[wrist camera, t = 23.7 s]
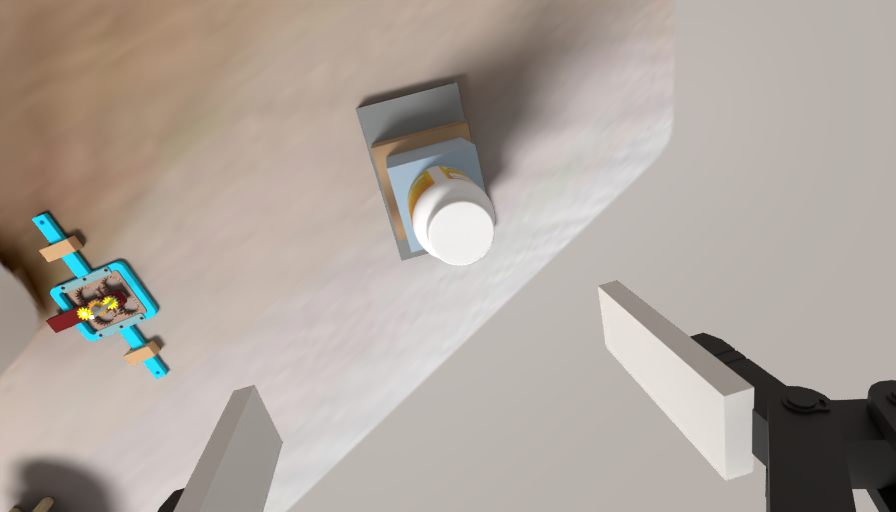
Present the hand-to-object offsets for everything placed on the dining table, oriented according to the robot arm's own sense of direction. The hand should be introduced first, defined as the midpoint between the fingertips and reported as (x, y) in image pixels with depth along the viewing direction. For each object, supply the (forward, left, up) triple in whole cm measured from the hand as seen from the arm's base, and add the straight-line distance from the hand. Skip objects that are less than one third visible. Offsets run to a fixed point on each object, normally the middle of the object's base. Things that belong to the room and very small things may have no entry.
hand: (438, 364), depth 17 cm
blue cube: (-1, +3, -27) cm, 27 cm away
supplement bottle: (-1, +3, -20) cm, 21 cm away
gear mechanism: (+3, -33, -34) cm, 47 cm away
